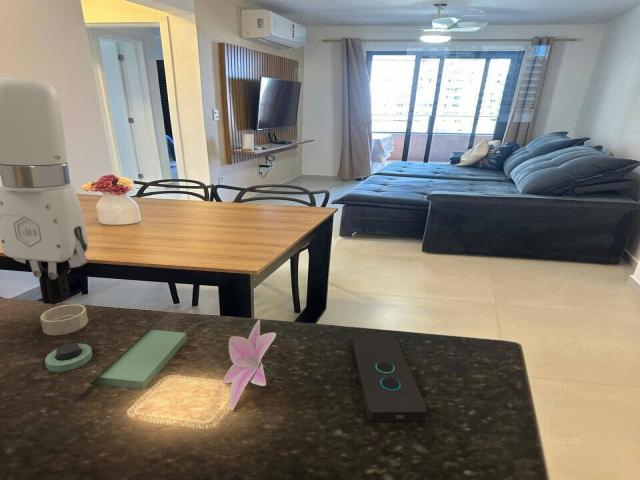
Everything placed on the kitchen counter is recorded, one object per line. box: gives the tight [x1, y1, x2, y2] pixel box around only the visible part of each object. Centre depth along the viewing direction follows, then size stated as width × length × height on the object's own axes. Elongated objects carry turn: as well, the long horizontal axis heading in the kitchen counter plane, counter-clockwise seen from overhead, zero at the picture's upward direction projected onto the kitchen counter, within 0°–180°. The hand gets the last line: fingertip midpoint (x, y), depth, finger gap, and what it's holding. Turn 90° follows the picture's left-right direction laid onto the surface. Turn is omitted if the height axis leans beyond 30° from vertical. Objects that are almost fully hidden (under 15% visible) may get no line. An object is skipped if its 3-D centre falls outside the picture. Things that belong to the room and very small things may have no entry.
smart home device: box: [350, 333, 428, 423], centre depth 60 cm, size 8×2×20 cm
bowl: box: [39, 303, 89, 336], centre depth 69 cm, size 7×7×4 cm
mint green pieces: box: [44, 329, 188, 390], centre depth 63 cm, size 16×14×3 cm
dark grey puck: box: [55, 342, 80, 361], centre depth 59 cm, size 3×3×1 cm
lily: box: [222, 318, 277, 412], centre depth 56 cm, size 12×12×10 cm
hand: (56, 300), depth 57 cm, fingers closed
